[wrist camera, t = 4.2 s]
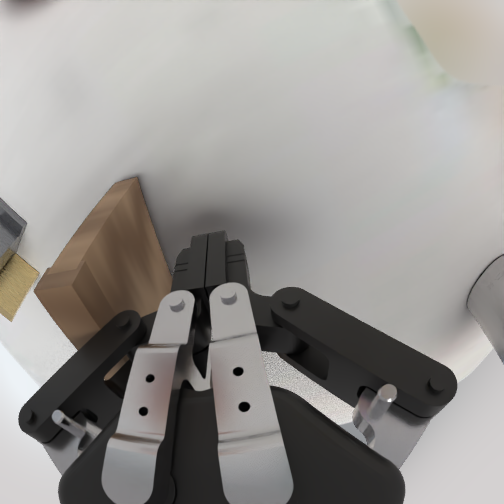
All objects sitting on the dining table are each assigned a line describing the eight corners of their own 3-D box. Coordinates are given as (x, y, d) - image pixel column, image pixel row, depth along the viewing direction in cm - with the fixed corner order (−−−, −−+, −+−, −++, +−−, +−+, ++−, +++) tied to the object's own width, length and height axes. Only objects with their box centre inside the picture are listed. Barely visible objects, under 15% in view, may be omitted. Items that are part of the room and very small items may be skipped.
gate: (220, 370, 26) (224, 459, 18) (197, 373, 26) (197, 460, 18) (147, 171, 14) (77, 288, 7) (110, 181, 14) (25, 296, 7)
